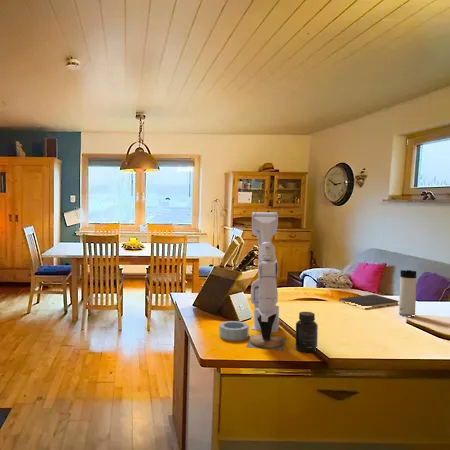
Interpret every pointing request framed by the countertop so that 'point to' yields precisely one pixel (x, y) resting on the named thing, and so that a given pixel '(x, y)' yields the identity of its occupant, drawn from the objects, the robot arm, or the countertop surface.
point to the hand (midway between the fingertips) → (266, 337)
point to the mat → (267, 348)
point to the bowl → (233, 330)
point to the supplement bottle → (306, 333)
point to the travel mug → (407, 293)
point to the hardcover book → (370, 300)
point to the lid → (266, 341)
